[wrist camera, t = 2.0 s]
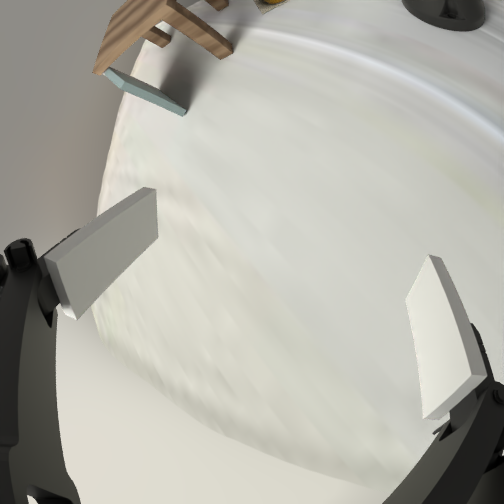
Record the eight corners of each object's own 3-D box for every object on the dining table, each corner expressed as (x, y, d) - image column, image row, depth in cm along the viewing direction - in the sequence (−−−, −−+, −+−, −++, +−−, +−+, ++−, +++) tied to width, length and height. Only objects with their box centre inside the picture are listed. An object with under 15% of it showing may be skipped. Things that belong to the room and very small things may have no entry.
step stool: (163, 41, 58) (112, 14, 43) (228, -1, 46) (177, -41, 31) (156, 99, 56) (92, 72, 41) (232, 53, 44) (166, 4, 29)
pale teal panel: (158, 88, 55) (106, 65, 42) (187, 109, 49) (125, 80, 36) (154, 95, 56) (102, 73, 43) (181, 117, 50) (119, 90, 37)
